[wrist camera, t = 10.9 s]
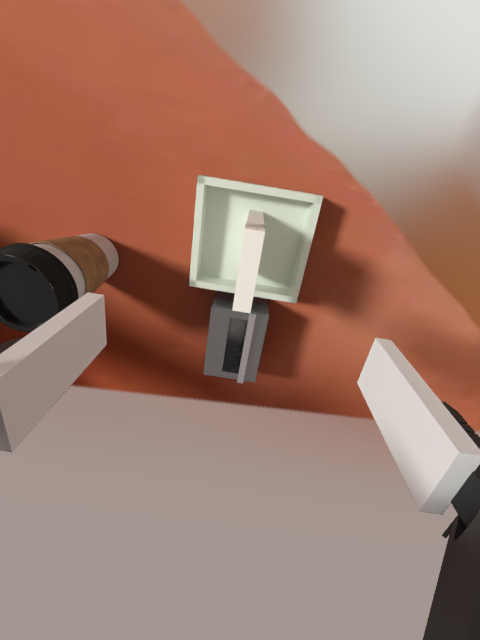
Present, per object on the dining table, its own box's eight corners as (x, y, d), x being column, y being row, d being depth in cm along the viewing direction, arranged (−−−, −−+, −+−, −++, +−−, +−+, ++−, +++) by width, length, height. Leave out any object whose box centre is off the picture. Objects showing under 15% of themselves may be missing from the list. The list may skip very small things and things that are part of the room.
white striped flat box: (240, 266, 39) (231, 310, 26) (249, 209, 36) (244, 228, 23) (253, 268, 39) (250, 313, 26) (263, 211, 36) (265, 231, 23)
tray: (194, 277, 41) (189, 286, 37) (203, 175, 35) (197, 175, 32) (293, 293, 41) (296, 303, 38) (317, 194, 35) (323, 196, 32)
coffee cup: (140, 254, 40) (79, 295, 26) (107, 297, 43) (37, 354, 29) (85, 208, 37) (-13, 227, 24) (54, 257, 40) (-48, 298, 27)
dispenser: (209, 350, 46) (202, 377, 40) (217, 289, 41) (210, 308, 35) (255, 357, 46) (254, 385, 40) (267, 297, 41) (269, 318, 35)
